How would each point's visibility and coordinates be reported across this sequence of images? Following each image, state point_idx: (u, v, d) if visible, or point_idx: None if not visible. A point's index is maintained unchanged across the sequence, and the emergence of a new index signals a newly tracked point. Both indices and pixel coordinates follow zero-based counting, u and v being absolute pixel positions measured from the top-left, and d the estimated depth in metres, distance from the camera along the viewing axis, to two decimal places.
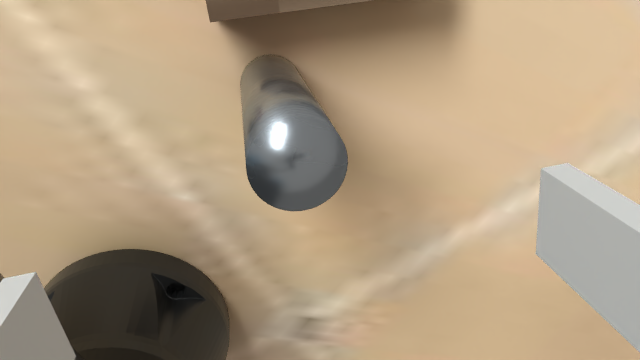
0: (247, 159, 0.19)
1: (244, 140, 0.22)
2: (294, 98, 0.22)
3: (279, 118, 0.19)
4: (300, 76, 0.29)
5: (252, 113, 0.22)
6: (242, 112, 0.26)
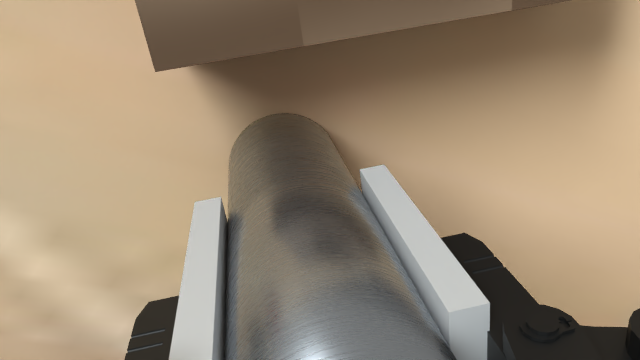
0: None
1: None
2: (372, 343, 0.07)
3: None
4: (344, 168, 0.15)
5: None
6: (226, 278, 0.12)
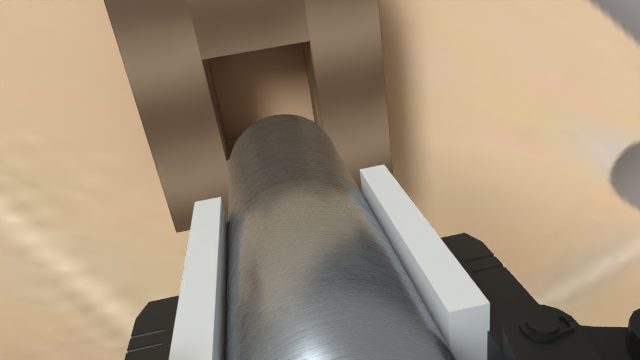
0: None
1: None
2: (373, 346, 0.07)
3: None
4: (345, 169, 0.15)
5: None
6: None
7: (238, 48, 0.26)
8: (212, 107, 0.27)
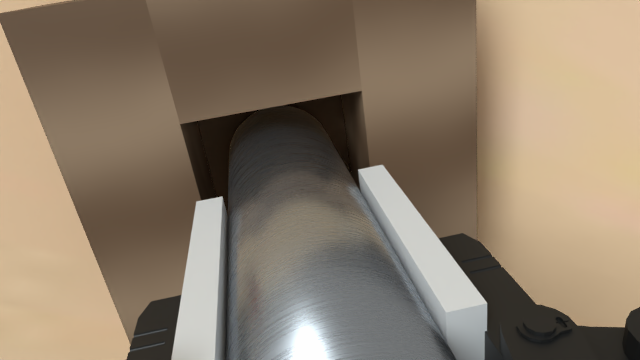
0: None
1: None
2: (353, 292, 0.08)
3: None
4: (336, 155, 0.16)
5: (243, 321, 0.09)
6: None
7: (242, 104, 0.15)
8: (199, 197, 0.16)
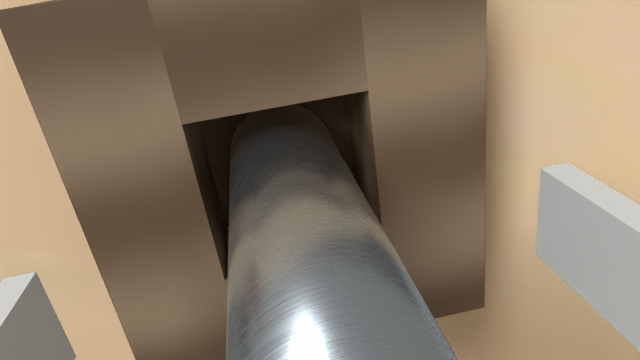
0: None
1: None
2: (349, 279, 0.08)
3: None
4: (336, 150, 0.16)
5: (243, 307, 0.09)
6: (228, 244, 0.13)
7: (245, 104, 0.15)
8: (201, 200, 0.16)
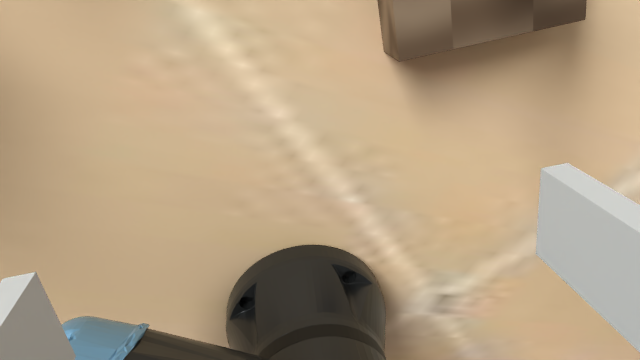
0: None
1: None
2: None
3: None
4: None
5: None
6: None
7: None
8: None
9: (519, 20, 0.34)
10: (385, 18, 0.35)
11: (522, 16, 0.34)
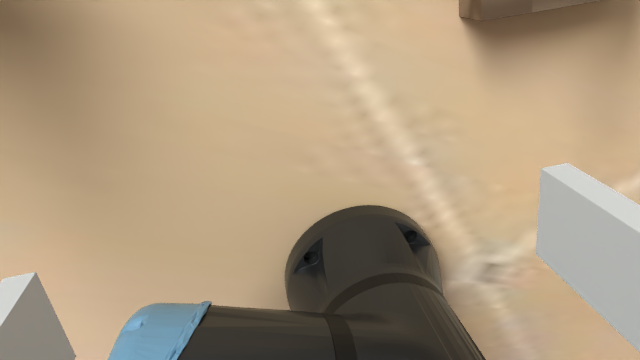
0: None
1: None
2: None
3: None
4: None
5: None
6: None
7: None
8: None
9: None
10: None
11: None
